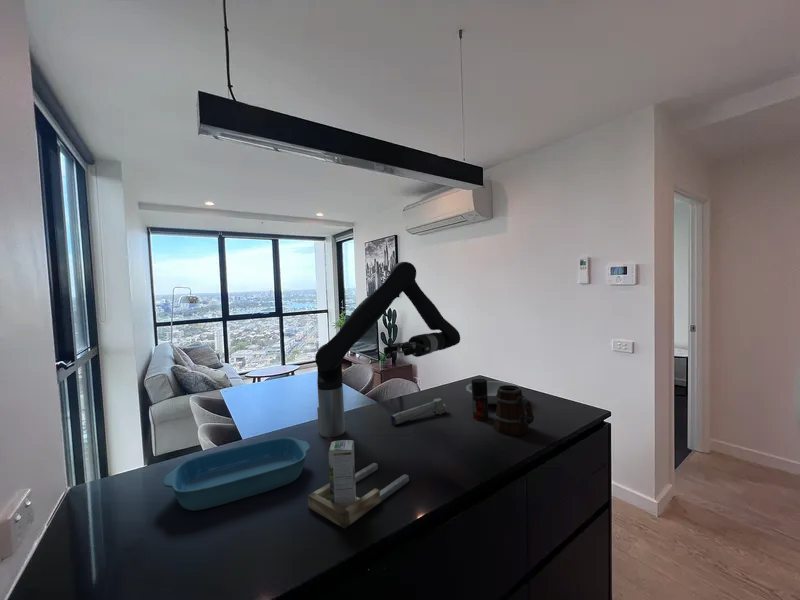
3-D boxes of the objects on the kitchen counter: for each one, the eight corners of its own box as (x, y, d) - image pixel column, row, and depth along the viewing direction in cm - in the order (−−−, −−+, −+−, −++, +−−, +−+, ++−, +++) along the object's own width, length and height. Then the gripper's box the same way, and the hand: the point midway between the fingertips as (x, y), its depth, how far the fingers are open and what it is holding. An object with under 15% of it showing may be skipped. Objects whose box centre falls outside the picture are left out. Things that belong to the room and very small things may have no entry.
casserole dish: (300, 451, 115) (299, 430, 115) (320, 480, 96) (319, 455, 96) (168, 487, 97) (167, 461, 96) (160, 532, 77) (158, 500, 77)
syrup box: (333, 498, 86) (330, 440, 86) (356, 496, 86) (353, 438, 86) (330, 512, 80) (327, 451, 80) (355, 510, 81) (352, 448, 81)
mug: (487, 428, 126) (485, 387, 126) (510, 420, 132) (508, 381, 132) (522, 442, 112) (520, 397, 112) (546, 433, 118) (544, 390, 118)
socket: (344, 485, 92) (343, 474, 92) (380, 502, 84) (379, 490, 84) (308, 507, 83) (308, 495, 83) (344, 528, 75) (343, 515, 75)
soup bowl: (480, 414, 141) (479, 398, 141) (458, 397, 164) (458, 383, 164) (532, 407, 146) (532, 391, 146) (504, 392, 169) (504, 378, 169)
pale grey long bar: (388, 413, 136) (439, 393, 148) (391, 429, 136) (441, 408, 148) (394, 417, 131) (446, 396, 143) (397, 434, 132) (449, 411, 144)
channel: (374, 467, 101) (373, 462, 101) (408, 481, 93) (408, 475, 93) (344, 485, 92) (344, 480, 92) (380, 502, 84) (379, 496, 84)
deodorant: (491, 417, 136) (489, 379, 136) (483, 421, 132) (482, 383, 132) (477, 414, 140) (476, 377, 140) (470, 418, 136) (468, 381, 136)
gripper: (407, 333, 129) (377, 339, 116) (439, 334, 120) (411, 341, 107) (408, 353, 129) (378, 361, 117) (440, 356, 120) (412, 365, 108)
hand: (394, 351), depth 112 cm, fingers open, 8 cm apart
